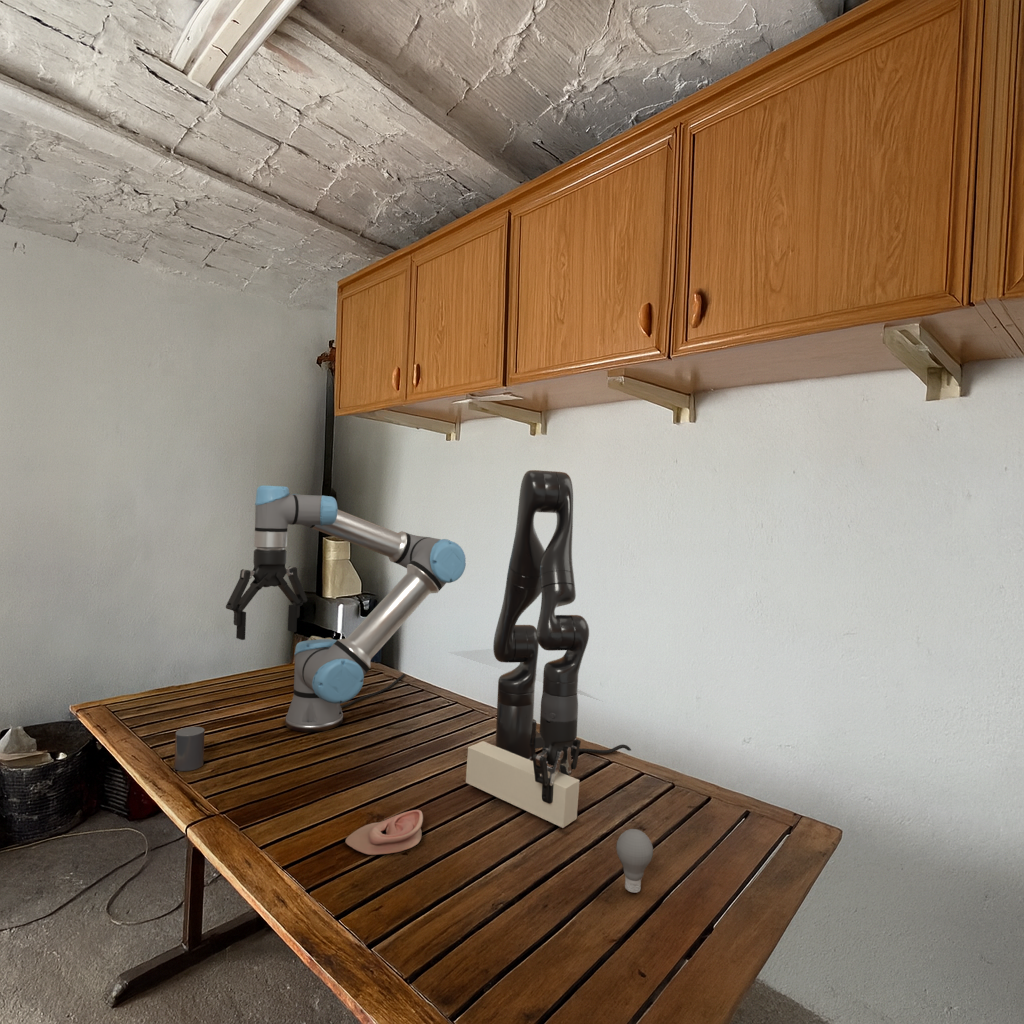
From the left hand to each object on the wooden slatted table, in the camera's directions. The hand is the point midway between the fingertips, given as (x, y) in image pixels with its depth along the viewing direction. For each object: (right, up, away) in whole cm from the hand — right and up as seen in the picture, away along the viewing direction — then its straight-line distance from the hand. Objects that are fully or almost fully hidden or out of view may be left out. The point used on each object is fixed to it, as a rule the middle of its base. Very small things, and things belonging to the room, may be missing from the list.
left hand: (267, 635), depth 155 cm
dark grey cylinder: (-14, -28, -9) cm, 33 cm away
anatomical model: (+36, -31, -37) cm, 61 cm away
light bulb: (+80, -33, -50) cm, 100 cm away
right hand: (+69, -27, -27) cm, 79 cm away
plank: (+62, -31, -21) cm, 72 cm away
